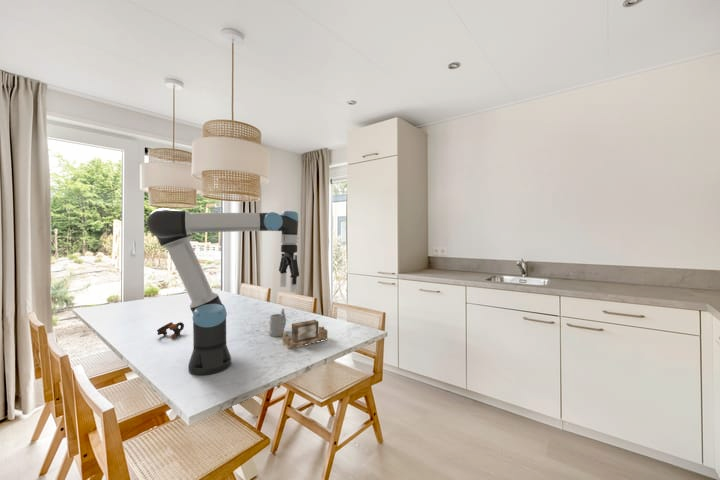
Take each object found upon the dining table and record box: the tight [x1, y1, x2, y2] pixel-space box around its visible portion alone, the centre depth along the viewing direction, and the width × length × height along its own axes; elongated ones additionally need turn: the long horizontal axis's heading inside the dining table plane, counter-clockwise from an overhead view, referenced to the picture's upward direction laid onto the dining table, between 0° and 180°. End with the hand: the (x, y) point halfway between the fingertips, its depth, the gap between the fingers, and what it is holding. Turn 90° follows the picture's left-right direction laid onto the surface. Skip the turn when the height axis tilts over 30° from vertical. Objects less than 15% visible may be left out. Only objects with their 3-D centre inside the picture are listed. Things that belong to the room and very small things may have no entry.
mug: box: [268, 308, 287, 338], centre depth 161 cm, size 8×12×12 cm, turn 162°
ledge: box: [282, 326, 328, 350], centre depth 148 cm, size 20×7×6 cm, turn 124°
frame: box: [291, 319, 319, 343], centre depth 148 cm, size 12×4×8 cm, turn 124°
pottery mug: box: [156, 321, 185, 340], centre depth 156 cm, size 12×10×8 cm
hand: (287, 289), depth 146 cm, fingers open, 13 cm apart
